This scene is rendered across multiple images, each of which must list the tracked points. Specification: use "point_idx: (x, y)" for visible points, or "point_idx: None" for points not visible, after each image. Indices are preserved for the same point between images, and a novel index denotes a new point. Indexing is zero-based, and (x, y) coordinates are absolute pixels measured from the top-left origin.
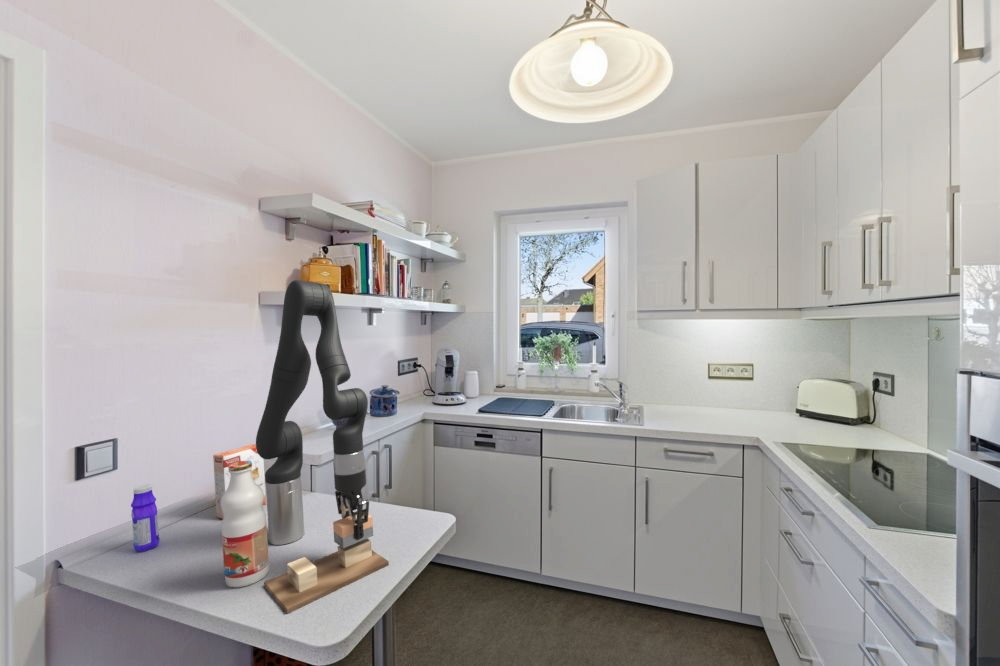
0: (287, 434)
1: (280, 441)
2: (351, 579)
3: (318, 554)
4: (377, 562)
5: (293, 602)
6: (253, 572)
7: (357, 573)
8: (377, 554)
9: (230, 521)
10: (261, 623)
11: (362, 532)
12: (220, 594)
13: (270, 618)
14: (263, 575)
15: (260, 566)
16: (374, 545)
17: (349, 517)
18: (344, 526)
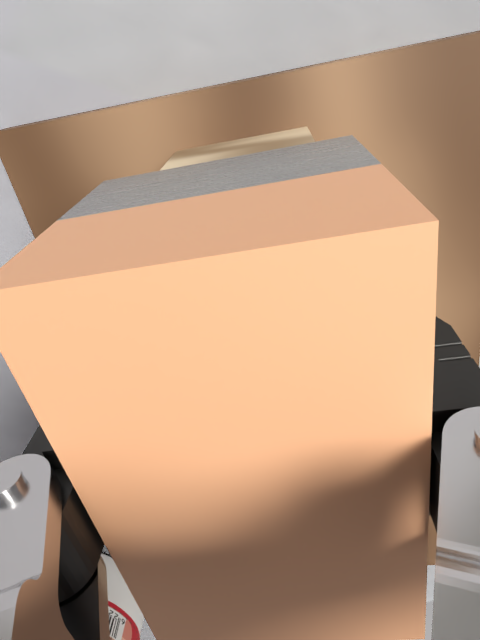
0: None
1: None
2: (478, 331)
3: (6, 374)
4: (446, 124)
5: (435, 545)
6: (134, 630)
7: (458, 291)
8: (317, 72)
9: None
10: (430, 594)
11: (462, 353)
12: (147, 635)
13: (427, 577)
14: (118, 571)
15: (115, 626)
16: (63, 7)
17: (146, 520)
18: (409, 617)
